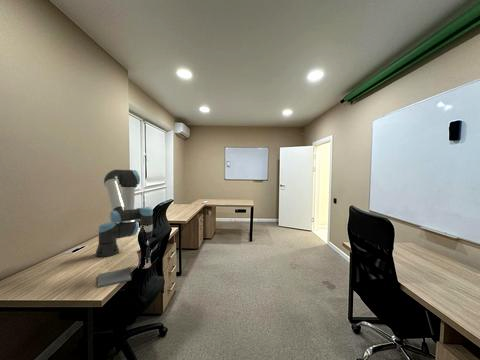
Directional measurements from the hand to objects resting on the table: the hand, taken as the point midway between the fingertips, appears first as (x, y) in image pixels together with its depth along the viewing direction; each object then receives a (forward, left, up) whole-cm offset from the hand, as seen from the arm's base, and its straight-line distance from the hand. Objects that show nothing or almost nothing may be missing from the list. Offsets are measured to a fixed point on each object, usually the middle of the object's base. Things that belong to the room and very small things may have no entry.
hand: (145, 264), depth 139 cm
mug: (-1, 0, -1) cm, 1 cm away
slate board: (+7, -18, -1) cm, 19 cm away
